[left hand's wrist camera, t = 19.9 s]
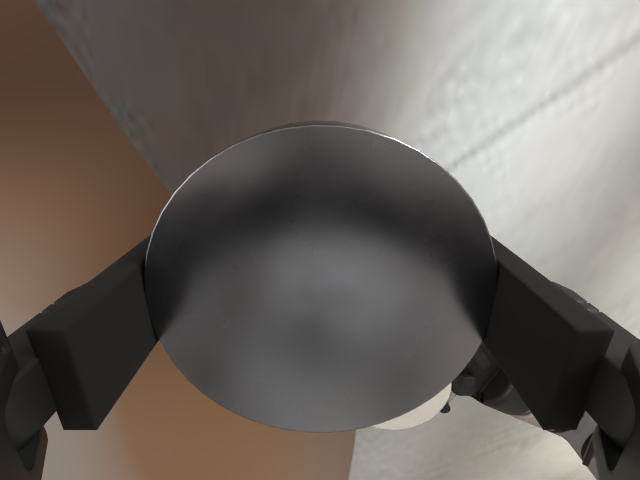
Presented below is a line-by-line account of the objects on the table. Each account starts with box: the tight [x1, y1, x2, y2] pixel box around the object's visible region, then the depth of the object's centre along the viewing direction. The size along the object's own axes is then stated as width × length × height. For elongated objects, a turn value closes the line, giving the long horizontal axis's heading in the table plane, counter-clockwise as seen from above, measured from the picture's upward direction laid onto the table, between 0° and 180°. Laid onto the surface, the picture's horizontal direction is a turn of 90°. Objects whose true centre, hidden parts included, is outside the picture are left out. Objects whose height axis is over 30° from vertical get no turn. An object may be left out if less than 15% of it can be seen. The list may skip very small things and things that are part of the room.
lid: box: [144, 121, 497, 433], centre depth 11 cm, size 10×10×2 cm
